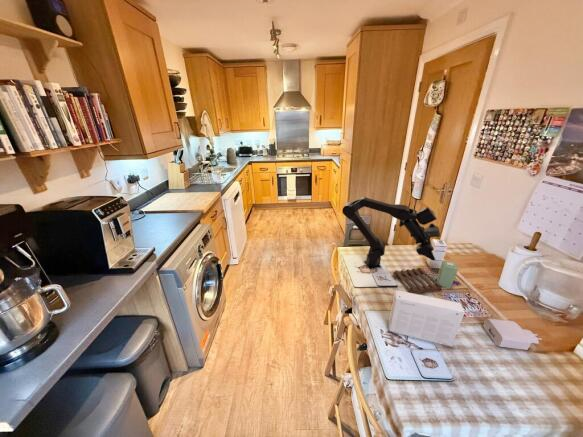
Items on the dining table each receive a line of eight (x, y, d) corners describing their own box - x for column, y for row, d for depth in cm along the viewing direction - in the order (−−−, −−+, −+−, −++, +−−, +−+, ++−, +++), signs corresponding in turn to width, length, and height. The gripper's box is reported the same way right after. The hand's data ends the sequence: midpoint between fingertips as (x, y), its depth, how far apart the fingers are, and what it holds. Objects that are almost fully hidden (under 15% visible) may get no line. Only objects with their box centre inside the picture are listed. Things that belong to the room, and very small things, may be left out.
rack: (410, 295, 104) (411, 290, 103) (392, 276, 116) (393, 271, 115) (441, 290, 107) (442, 285, 105) (420, 272, 119) (421, 267, 118)
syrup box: (440, 268, 122) (448, 245, 116) (428, 267, 123) (435, 244, 117) (437, 262, 127) (444, 239, 121) (425, 261, 128) (431, 238, 122)
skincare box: (448, 334, 85) (461, 302, 79) (452, 347, 81) (466, 314, 74) (387, 320, 92) (395, 288, 85) (388, 331, 87) (396, 299, 80)
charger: (547, 353, 78) (498, 347, 81) (526, 330, 87) (482, 325, 89) (553, 344, 76) (503, 338, 79) (531, 321, 85) (486, 316, 87)
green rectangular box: (437, 285, 110) (443, 265, 105) (436, 278, 115) (443, 258, 110) (450, 288, 108) (458, 268, 103) (449, 281, 112) (456, 261, 107)
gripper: (433, 229, 96) (454, 258, 97) (430, 213, 112) (448, 239, 113) (408, 240, 103) (428, 268, 104) (408, 224, 118) (426, 248, 119)
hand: (433, 254), depth 110 cm, fingers open, 9 cm apart
